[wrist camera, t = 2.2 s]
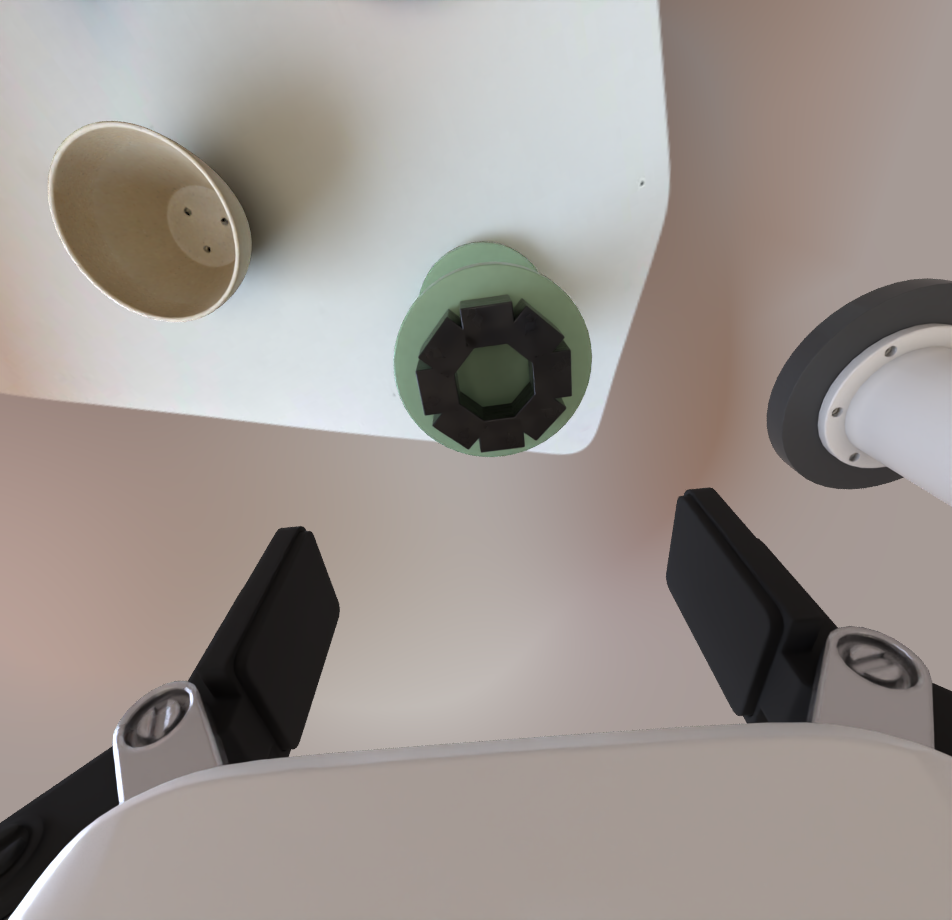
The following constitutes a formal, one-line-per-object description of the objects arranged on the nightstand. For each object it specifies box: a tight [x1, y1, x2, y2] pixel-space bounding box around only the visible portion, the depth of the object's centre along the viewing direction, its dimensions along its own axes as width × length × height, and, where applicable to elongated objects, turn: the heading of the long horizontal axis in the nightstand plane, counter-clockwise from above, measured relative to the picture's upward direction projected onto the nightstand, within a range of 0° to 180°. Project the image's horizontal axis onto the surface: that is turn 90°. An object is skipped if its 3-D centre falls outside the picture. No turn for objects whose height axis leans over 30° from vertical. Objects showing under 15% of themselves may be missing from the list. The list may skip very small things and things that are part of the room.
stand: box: [394, 242, 592, 457], centre depth 28 cm, size 10×10×14 cm
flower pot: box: [48, 121, 252, 322], centre depth 28 cm, size 10×10×7 cm
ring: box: [415, 294, 572, 453], centre depth 21 cm, size 7×7×2 cm
